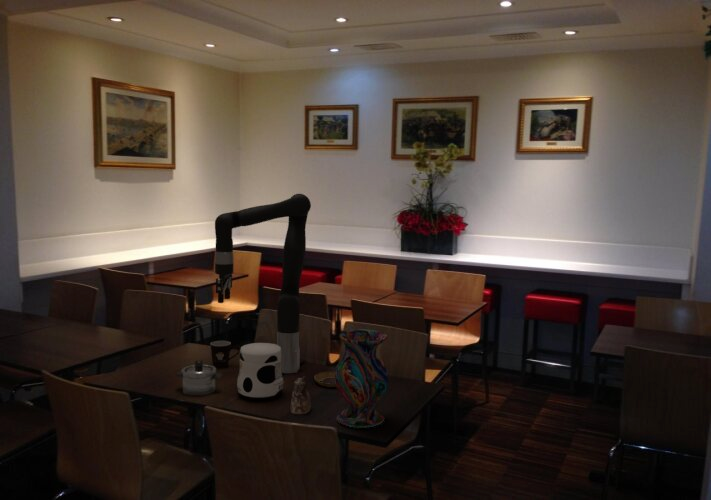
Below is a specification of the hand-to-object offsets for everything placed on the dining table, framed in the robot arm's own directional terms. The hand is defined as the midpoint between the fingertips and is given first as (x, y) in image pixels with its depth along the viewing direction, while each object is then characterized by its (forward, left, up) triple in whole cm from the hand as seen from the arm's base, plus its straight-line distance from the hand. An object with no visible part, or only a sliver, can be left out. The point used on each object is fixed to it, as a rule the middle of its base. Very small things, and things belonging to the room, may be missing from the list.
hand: (224, 300), depth 257 cm
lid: (+2, +24, -23) cm, 33 cm away
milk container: (-22, +24, -30) cm, 45 cm away
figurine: (-40, +37, -30) cm, 62 cm away
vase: (-62, +42, -30) cm, 81 cm away
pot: (+2, +24, -30) cm, 39 cm away
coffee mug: (+2, -6, -30) cm, 31 cm away
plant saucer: (-47, +6, -31) cm, 56 cm away
